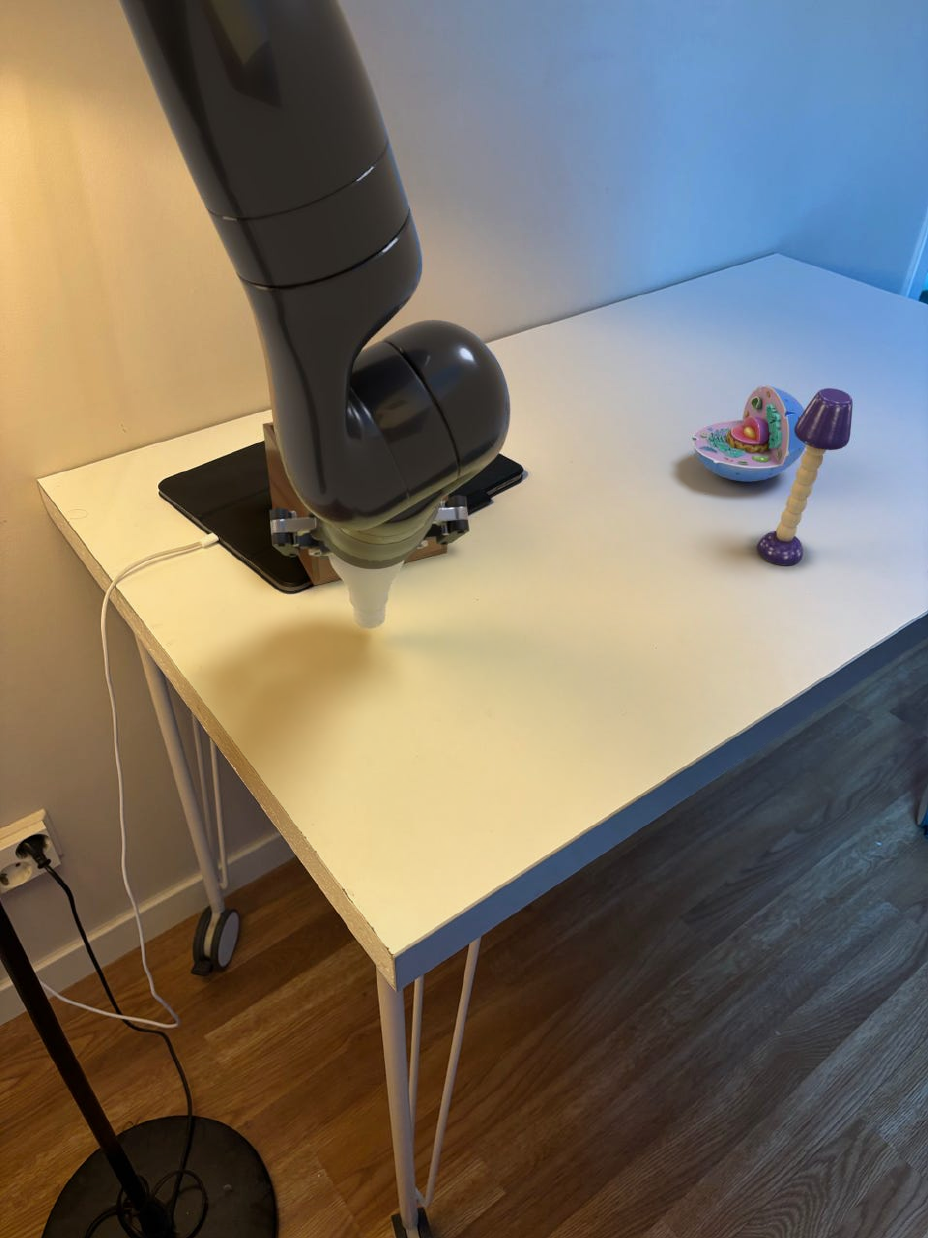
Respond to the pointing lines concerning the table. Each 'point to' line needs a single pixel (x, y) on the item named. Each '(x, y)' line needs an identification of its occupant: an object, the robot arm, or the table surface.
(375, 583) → the lightbulb
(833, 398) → the toy lamp
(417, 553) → the box
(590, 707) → the table surface
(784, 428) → the cell model
